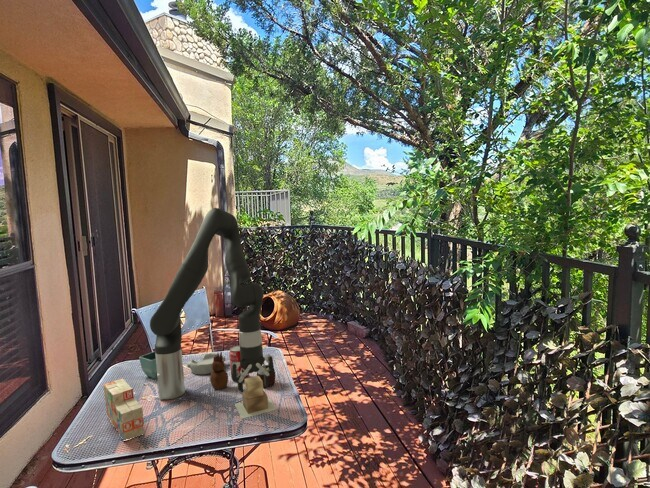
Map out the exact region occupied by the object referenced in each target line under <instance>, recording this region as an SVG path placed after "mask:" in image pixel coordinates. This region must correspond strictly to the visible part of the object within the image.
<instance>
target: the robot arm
mask: <svg viewBox="0 0 650 488" xmlns="http://www.w3.org/2000/svg"><path fill="white" fill-rule="evenodd" d="M215 235H216V236H219V237H222V239H223V240H224V242H225V244H226V253H225V258H224V261H225V266H226V270H227V273H228V276H229V280H230V288H231V291H230V299H231V303H232V304H233V305H234V306H236V307H238V308H241V307H246V306H247V307H248V306H249V308H248V309H247V310H244V311H242V312H241V313H240V314H239V315H238V328H239V329H238V331H239V334H238V344H239V346H240V357H241V360H240V362H237V363H235V362H232V363H231V368H230V376H231V377H230V378H231V380H232V382H234V383H237V390H238V391H239V392H240V393H242V392H244V381H242V380H243V379H244V377H245V376H246V375H247V373H249V374H253V373H257V372H258V371H259V370H261V371H262V372H263V373H264V385H265V386H266V388H268V385H269V383H270V382H269V375H270V374H271V373H274V370H275V365H274V358H273V356H272V355H271V354H267V356H264V351H263V350H264V349H263V338H262V337H263V335H262V330H261V322H260V321H261V320H260V319H261V311H262V304H263V300H264V289H263V288H262V285H261V284H259V283H258V282H252V283H246V284H243V283H245V282H247V281H248V280H250V278H251V275H252V274H251V271H250V268H249V265H248V262H247V260H246V258H245V254H244V251H243V250H244V249H243V246H242V240H241V235H240V230H239V225H238V220H237V218H236V216H234V214H232V213H230V212H227V211H225V210H223V209H221V208H220V207H219V208H218V207H212V208H211V209H210V210H209V211H207V213H206V214H205V216H204V218H203V220H202V222H201V224H200V227H199V229H198V231H197V234H196V236H195V239H194V240H193V242H192V245H191V247H190V248H189V251H188V253H187V254H186V256H185V257H184V259H183V261H182V263H181V264H180V266H179V267H178V270H177V272H176V274H175V276H174V278H173V280H172V283H171V284H170V286H169V289H168V291H167V293H166V295H165V297H164V299H163V301H162V302H161V303H160V305H159V306H158V308H157V309H156V310H155V311H154V313H153V314H152V316H151V318H150V321H149V328H150V331H151V332H152V333H153V334H154V335H155V336H156V338H155V339H156V341H155V344H154V351H155V355H156V365H157V377H156V378H157V385H158V386H157V387H158V395H159V396H158V397H159V400H161V401H162V400H173V399H176V398H180V397H181V396H183V395H184V394H185V393H186V385H185V375H184V364H183V352H182V351H183V350H182V339H183V337H182V336H183V335H182V334H183V333H182V321H181V320H182V319H181V316H180V315H181V313H182V311H183V309H184V307H185V305H186V304H187V302H188V301H189V299H191V297H192V296H193V295H194V293H195V292H196V290H197V289H199V286H200V285H201V283H202V281H203V279H204V277H206V274H207V272H208V269H209V247H210V245H211V242H212V241H213V238H214V237H215ZM265 362H266V363H267V365H268V366H269V369H268V370H266V369H265V368H264V367H263V363H265ZM239 366H241V367H242V369H241V371H240V374H239V375H238V377H237V374H236V370H237V369H238V367H239Z"/></svg>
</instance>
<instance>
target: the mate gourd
mask: <svg viewBox="0 0 650 488" xmlns="http://www.w3.org/2000/svg"><path fill="white" fill-rule="evenodd" d="M262 366H263V367H264V368H265V369H266V370H268V369H269V366H268V364H265V362H264V363H263V365H262ZM256 376H259V377H260V378H261V380H262V381H263V390H264V389H267V388H268V387H272V386H273V387H275V383H276V371H275V369H274V373H271V374H270V375H269V382H270V383H269V385H268V387H266V386H265V385H264V373H263V372H262V371H261V370H259V371H258V372H256Z"/></svg>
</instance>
